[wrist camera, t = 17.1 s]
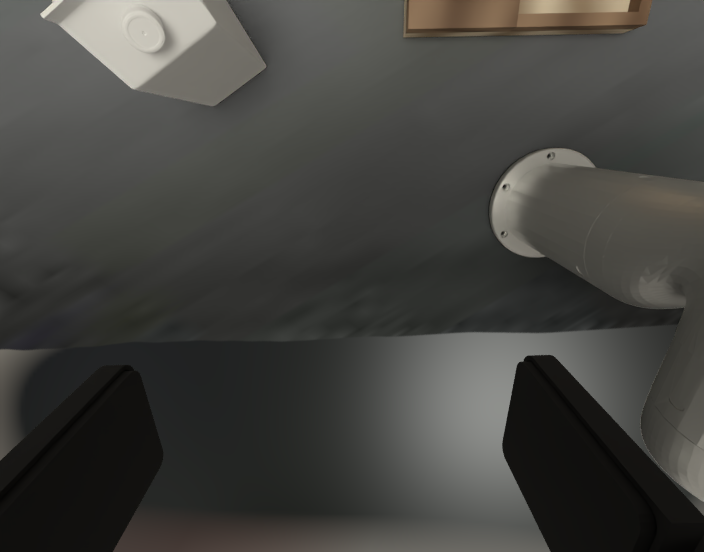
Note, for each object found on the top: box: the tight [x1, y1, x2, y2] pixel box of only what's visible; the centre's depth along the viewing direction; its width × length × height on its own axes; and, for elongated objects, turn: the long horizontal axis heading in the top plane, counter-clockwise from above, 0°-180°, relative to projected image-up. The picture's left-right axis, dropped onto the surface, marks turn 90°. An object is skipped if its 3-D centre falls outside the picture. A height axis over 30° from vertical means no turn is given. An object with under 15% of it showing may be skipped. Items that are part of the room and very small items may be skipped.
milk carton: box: [41, 0, 267, 106], centre depth 26 cm, size 7×7×19 cm
